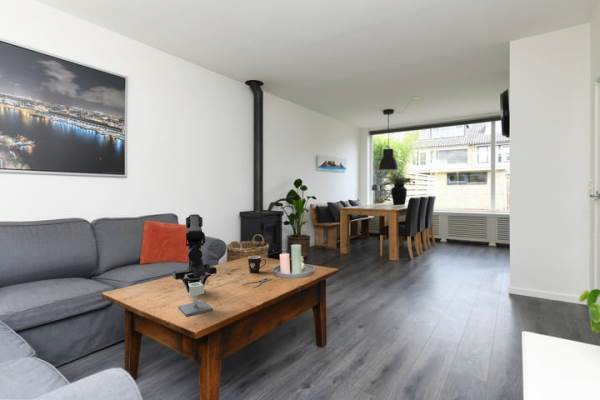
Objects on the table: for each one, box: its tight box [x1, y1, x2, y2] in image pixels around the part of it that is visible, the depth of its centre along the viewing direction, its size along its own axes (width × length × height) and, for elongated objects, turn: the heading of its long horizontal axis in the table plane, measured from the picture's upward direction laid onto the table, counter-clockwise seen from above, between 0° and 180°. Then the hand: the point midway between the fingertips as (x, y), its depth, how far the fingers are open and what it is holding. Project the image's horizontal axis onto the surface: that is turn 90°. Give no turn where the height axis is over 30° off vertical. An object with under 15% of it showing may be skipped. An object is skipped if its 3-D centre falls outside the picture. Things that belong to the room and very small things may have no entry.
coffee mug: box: [247, 255, 267, 274], centre depth 211 cm, size 12×9×10 cm
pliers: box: [241, 277, 272, 289], centre depth 188 cm, size 10×1×20 cm
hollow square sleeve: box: [186, 281, 205, 297], centre depth 145 cm, size 6×6×4 cm
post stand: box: [177, 295, 214, 317], centre depth 145 cm, size 12×12×7 cm
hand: (195, 290), depth 145 cm, fingers closed on hollow square sleeve, 6 cm apart
